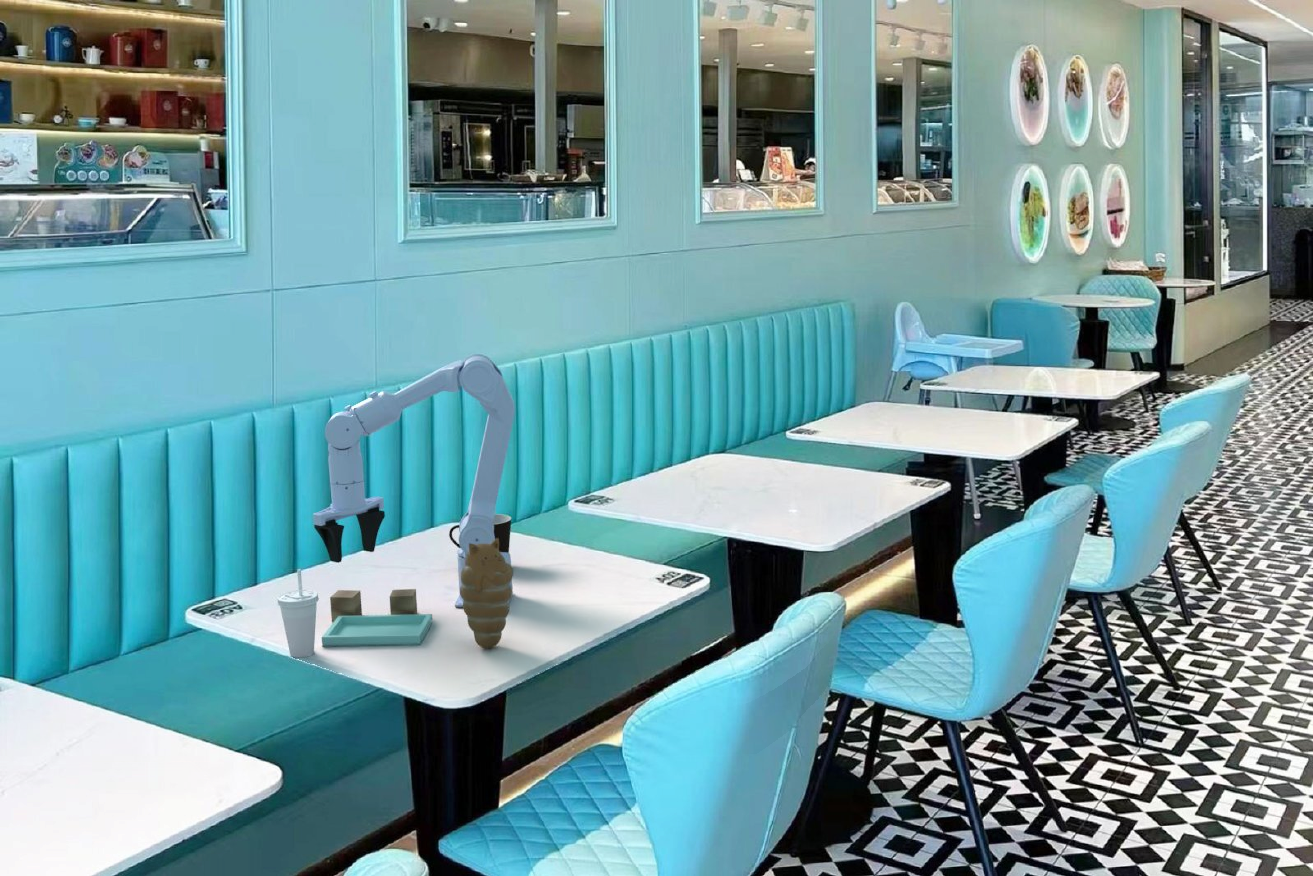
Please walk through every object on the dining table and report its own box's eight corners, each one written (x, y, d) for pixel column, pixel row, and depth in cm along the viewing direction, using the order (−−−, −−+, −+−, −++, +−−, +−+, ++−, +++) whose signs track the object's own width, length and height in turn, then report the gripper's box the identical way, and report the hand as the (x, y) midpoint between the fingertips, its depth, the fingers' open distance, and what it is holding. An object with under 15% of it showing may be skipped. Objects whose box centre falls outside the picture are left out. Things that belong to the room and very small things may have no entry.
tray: (432, 623, 225) (431, 614, 225) (420, 645, 214) (419, 635, 214) (339, 624, 225) (338, 615, 225) (322, 646, 215) (321, 637, 214)
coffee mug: (522, 566, 258) (520, 516, 256) (494, 577, 251) (492, 526, 249) (476, 558, 264) (474, 510, 262) (448, 569, 257) (445, 520, 255)
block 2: (417, 613, 231) (415, 589, 230) (414, 620, 227) (413, 595, 226) (394, 614, 231) (392, 589, 230) (391, 621, 227) (389, 596, 226)
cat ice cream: (476, 660, 207) (470, 550, 203) (452, 647, 213) (447, 539, 209) (524, 648, 212) (520, 540, 208) (500, 635, 218) (495, 530, 215)
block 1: (362, 615, 231) (360, 590, 230) (354, 622, 227) (352, 597, 226) (339, 614, 231) (338, 590, 230) (331, 622, 227) (330, 597, 226)
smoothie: (311, 661, 208) (305, 576, 205) (274, 659, 209) (267, 574, 207) (329, 647, 214) (323, 564, 212) (292, 645, 215) (286, 563, 213)
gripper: (362, 470, 238) (368, 543, 240) (298, 486, 226) (305, 563, 229) (389, 474, 234) (395, 548, 236) (326, 491, 222) (332, 568, 225)
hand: (352, 556), depth 232 cm, fingers open, 7 cm apart
